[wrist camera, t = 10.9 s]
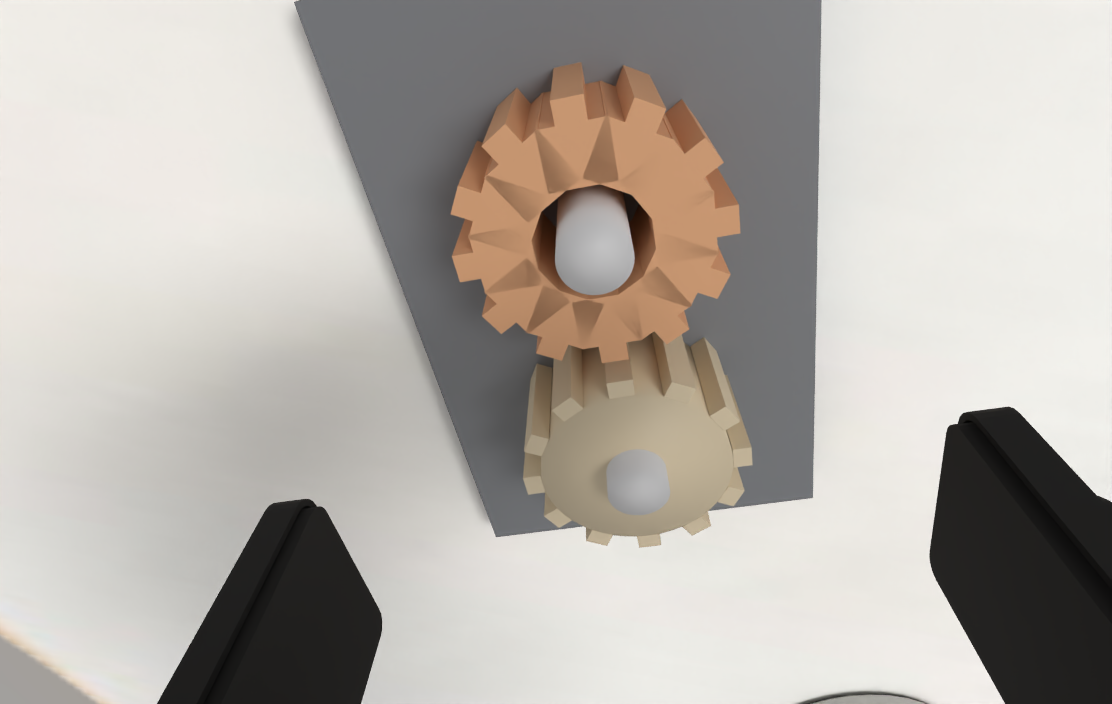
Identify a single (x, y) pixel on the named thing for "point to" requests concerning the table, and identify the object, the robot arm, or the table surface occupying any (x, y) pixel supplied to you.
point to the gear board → (451, 107)
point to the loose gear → (585, 160)
